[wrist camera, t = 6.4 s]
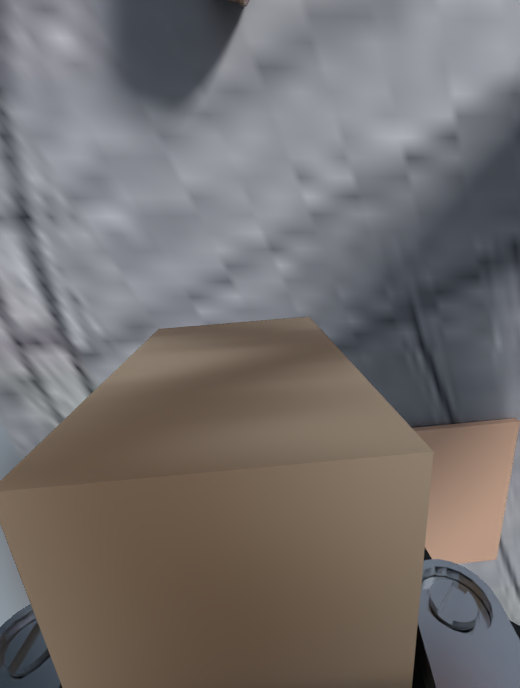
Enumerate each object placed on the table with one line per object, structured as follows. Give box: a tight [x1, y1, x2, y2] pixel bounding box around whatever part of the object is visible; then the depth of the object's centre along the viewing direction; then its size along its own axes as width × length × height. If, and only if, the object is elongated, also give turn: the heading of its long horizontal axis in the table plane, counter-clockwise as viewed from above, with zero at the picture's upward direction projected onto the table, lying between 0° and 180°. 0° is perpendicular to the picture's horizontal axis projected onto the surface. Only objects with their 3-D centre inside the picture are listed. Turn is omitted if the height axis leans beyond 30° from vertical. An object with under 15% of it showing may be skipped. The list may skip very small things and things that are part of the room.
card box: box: [0, 317, 434, 688], centre depth 7 cm, size 4×9×6 cm, turn 4°
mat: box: [412, 418, 520, 564], centre depth 27 cm, size 20×14×1 cm
